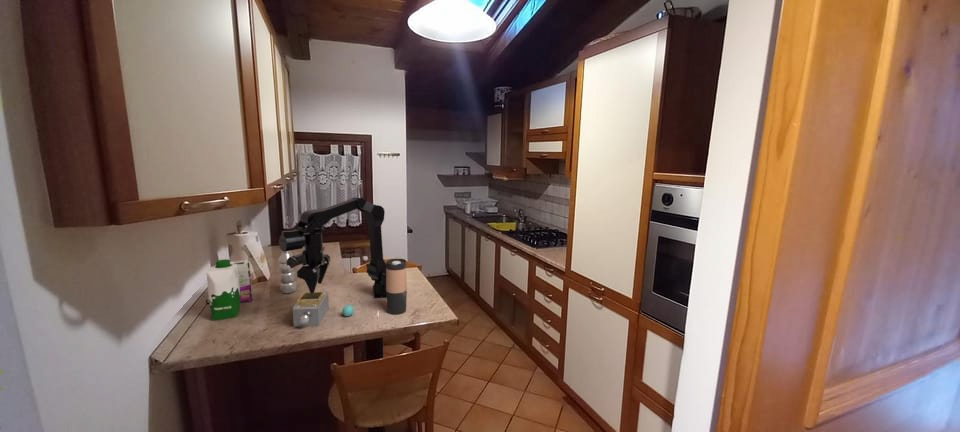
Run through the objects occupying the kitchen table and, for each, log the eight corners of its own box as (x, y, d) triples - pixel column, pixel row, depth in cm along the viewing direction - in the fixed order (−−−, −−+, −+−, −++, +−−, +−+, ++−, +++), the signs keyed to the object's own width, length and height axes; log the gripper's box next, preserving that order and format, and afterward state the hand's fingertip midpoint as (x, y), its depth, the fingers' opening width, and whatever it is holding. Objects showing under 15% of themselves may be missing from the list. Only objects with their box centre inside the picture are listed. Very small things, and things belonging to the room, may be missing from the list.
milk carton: (243, 308, 129) (238, 258, 126) (239, 318, 121) (234, 264, 118) (214, 312, 125) (209, 260, 122) (208, 322, 117) (202, 267, 114)
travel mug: (400, 305, 136) (399, 257, 133) (410, 311, 131) (410, 261, 128) (383, 310, 131) (382, 260, 128) (393, 317, 125) (392, 265, 122)
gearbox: (328, 308, 131) (328, 288, 129) (316, 329, 115) (315, 305, 113) (306, 310, 129) (305, 289, 128) (291, 330, 113) (289, 307, 112)
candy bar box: (252, 296, 140) (249, 258, 138) (252, 300, 136) (249, 261, 134) (219, 301, 134) (215, 262, 132) (217, 306, 130) (213, 265, 128)
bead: (354, 313, 128) (354, 303, 127) (353, 317, 124) (352, 307, 123) (343, 313, 127) (343, 303, 126) (341, 318, 123) (341, 308, 122)
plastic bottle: (301, 289, 149) (298, 245, 146) (291, 295, 142) (288, 249, 139) (287, 288, 150) (284, 245, 147) (276, 294, 143) (273, 248, 140)
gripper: (298, 240, 127) (301, 280, 129) (278, 253, 109) (281, 299, 111) (329, 240, 129) (331, 278, 131) (315, 252, 111) (317, 297, 113)
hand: (316, 287), depth 122 cm, fingers open, 9 cm apart
